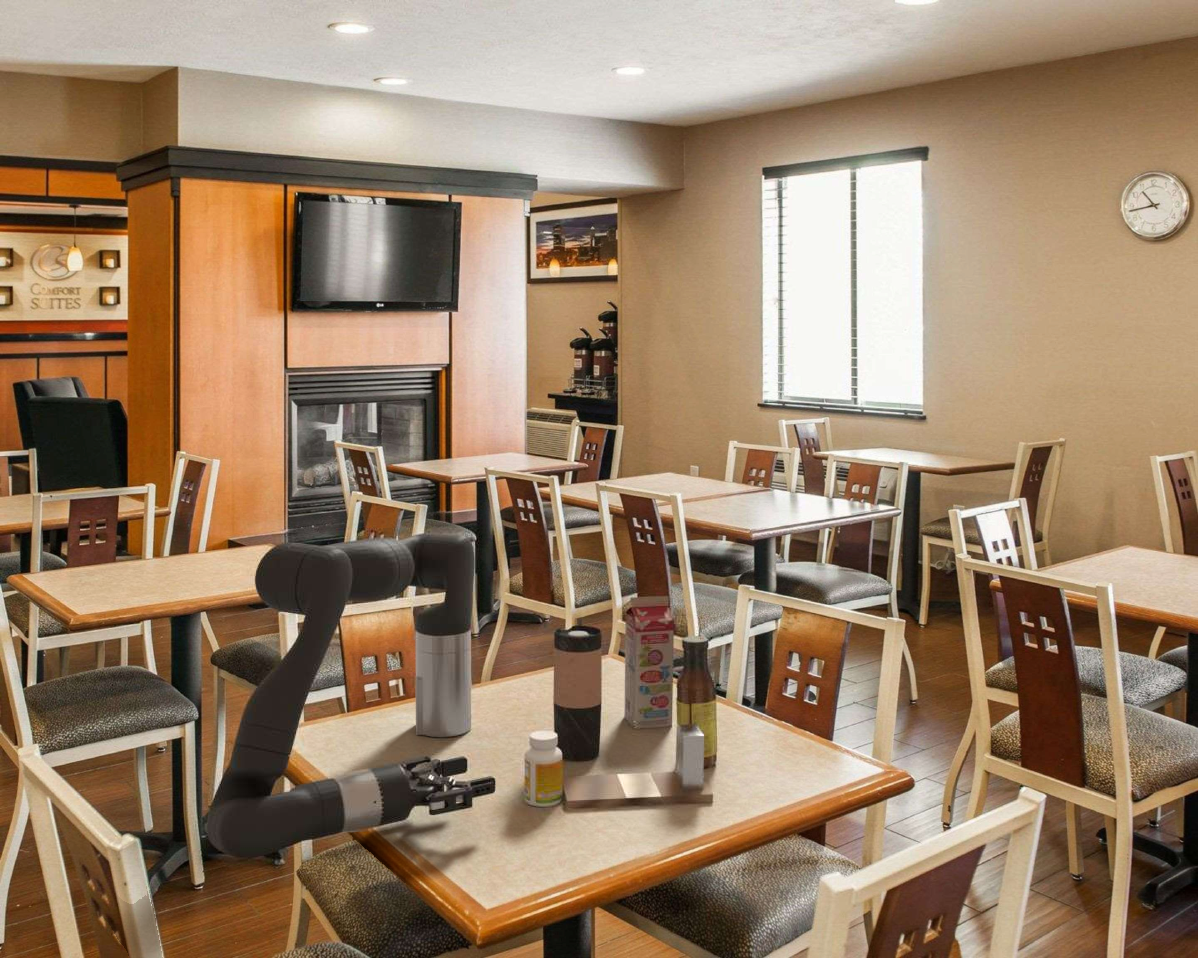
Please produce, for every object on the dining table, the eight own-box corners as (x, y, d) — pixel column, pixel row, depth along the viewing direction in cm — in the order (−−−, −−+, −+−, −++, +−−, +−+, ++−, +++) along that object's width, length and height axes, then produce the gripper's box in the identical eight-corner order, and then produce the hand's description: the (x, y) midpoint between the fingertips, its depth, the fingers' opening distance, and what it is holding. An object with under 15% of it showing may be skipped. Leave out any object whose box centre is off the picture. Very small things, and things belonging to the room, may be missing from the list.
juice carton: (624, 716, 202) (625, 593, 199) (660, 713, 204) (662, 591, 201) (634, 729, 196) (636, 602, 193) (672, 726, 197) (674, 600, 194)
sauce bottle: (722, 759, 182) (725, 636, 179) (708, 772, 176) (711, 646, 174) (683, 752, 185) (685, 631, 182) (669, 765, 179) (671, 640, 177)
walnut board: (566, 808, 162) (566, 800, 162) (560, 784, 171) (560, 776, 171) (712, 802, 165) (712, 793, 165) (698, 778, 174) (699, 770, 174)
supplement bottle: (569, 798, 166) (569, 732, 165) (548, 810, 162) (548, 744, 160) (539, 789, 169) (539, 725, 168) (517, 802, 164) (517, 736, 163)
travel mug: (595, 763, 179) (596, 638, 177) (548, 759, 181) (548, 635, 178) (605, 747, 187) (606, 626, 184) (559, 743, 188) (560, 623, 186)
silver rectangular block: (682, 789, 166) (683, 736, 165) (675, 776, 171) (676, 724, 170) (703, 788, 167) (704, 735, 166) (695, 775, 172) (696, 724, 171)
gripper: (389, 788, 144) (504, 763, 153) (348, 753, 156) (457, 732, 165) (390, 846, 145) (504, 817, 154) (349, 806, 157) (457, 782, 165)
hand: (479, 773), depth 159 cm, fingers open, 8 cm apart
